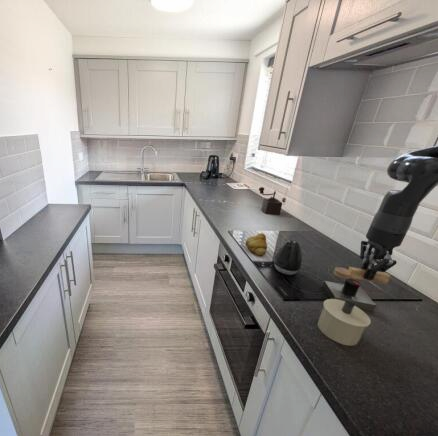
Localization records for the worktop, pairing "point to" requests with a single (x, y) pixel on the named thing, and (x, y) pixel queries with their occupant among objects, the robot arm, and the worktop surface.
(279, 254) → the dark grey egg shape
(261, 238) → the bread roll
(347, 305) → the pot lid
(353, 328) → the pot
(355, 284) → the knob
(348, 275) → the spoon
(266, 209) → the manual coffee grinder
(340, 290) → the grey flat piece
